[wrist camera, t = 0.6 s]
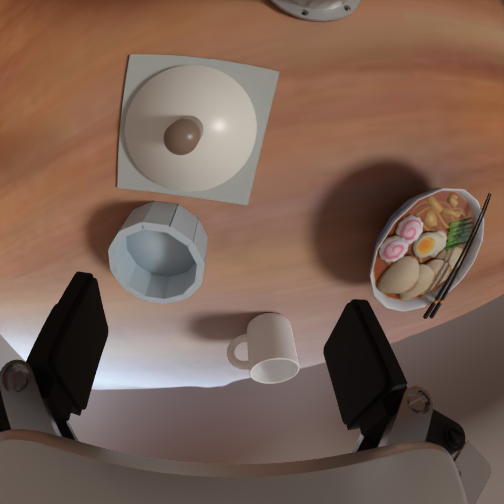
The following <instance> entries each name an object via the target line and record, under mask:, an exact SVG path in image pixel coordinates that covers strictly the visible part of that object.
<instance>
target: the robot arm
mask: <svg viewBox="0 0 504 504" xmlns="http://www.w3.org/2000/svg"><path fill="white" fill-rule="evenodd" d="M270 1H271V2H272V3H273V4H274V5H275V6H276V7H278V8H279V9H281V10H282V11H284V12H285V13H288V14H290V15H292V16H294V17H297V18H300V19H303V20H307V21H313V22H329V21H335V20H338V19H341V18H343V17H345V16H347V15H349V14H350V13H352V12H353V11H354V10H355V9H356V8H357V7H358V5H359V3H360V1H361V0H270ZM498 1H499V2H500V3H501V4H502V6H503V7H504V0H498ZM344 8H345V9H346V10H345V9H344ZM302 12H303V13H305V15H302ZM107 337H108V325H107V322H106V318H105V314H104V309H103V305H102V301H101V296H100V291H99V287H98V281H97V279H96V278H94V277H93V275H92V274H91V273H85V272H76V274H75V275H74V277H73V278H72V280H71V282H70V283H69V285H68V287H67V288H66V290H65V292H64V293H63V295H62V297H61V299H60V300H59V302H58V304H56V305H55V306H54V307H53V309H52V311H51V312H50V314H49V316H48V318H47V320H46V322H45V324H44V325H43V327H42V329H41V331H40V333H39V335H38V337H37V339H36V341H35V343H34V346H33V348H32V350H31V352H30V354H29V356H28V358H27V361H26V362H25V361H22V360H12V361H10V362H8V363H6V365H5V366H4V367H3V368H2V370H1V371H0V504H475V503H476V501H477V499H478V498H479V496H480V494H481V492H482V490H483V489H484V487H485V485H486V483H487V481H488V479H489V477H490V474H491V468H490V464H489V463H488V461H487V460H486V459H485V458H484V457H483V456H482V455H481V454H480V453H479V451H478V450H477V449H476V448H475V447H474V446H473V445H472V444H471V443H470V442H469V441H468V440H467V441H466V442H465V433H464V431H463V428H462V427H461V426H460V425H459V424H458V423H456V422H455V421H453V420H451V419H449V418H448V417H446V416H444V415H442V414H441V413H439V412H437V411H436V410H434V409H433V400H432V397H431V396H430V394H429V393H428V392H427V391H426V390H425V389H423V388H422V387H419V386H412V387H409V388H408V389H407V386H406V385H407V381H406V379H405V377H404V374H403V372H402V370H401V368H400V366H399V363H398V361H397V359H396V357H395V355H394V353H393V351H392V348H391V346H390V344H389V342H388V340H387V338H386V336H385V334H384V332H383V330H382V328H381V326H380V324H379V322H378V320H377V318H376V316H375V314H374V312H373V310H372V308H371V306H370V304H369V302H368V301H367V300H358V299H353V300H352V301H351V302H350V303H348V304H347V305H346V306H345V308H344V310H343V312H342V314H341V316H340V318H339V320H338V322H337V324H336V326H335V328H334V330H333V331H332V333H331V335H330V337H329V339H328V341H327V342H326V344H325V346H324V357H325V360H326V363H327V367H328V371H329V374H330V377H331V381H332V385H333V388H334V391H335V395H336V399H337V402H338V406H339V409H340V413H341V417H342V421H343V423H344V424H347V428H348V430H352V429H358V428H360V430H361V435H360V437H359V439H358V441H357V443H356V445H355V447H354V449H353V451H352V453H349V454H343V455H338V456H332V457H326V458H319V459H312V460H305V461H295V462H284V463H269V464H208V463H207V464H206V463H193V462H181V461H172V460H164V459H157V458H150V457H143V456H139V455H133V454H128V453H123V452H119V451H114V450H110V449H105V448H101V447H97V446H93V445H89V444H86V443H82V442H79V441H78V439H77V437H76V435H75V433H74V431H73V429H72V427H71V425H70V423H69V421H68V420H69V418H70V414H71V413H73V414H76V415H81V411H82V409H83V410H84V409H86V407H87V403H88V399H89V395H90V392H91V388H92V385H93V381H94V378H95V374H96V371H97V368H98V364H99V361H100V358H101V355H102V352H103V349H104V346H105V343H106V340H107Z"/></svg>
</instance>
